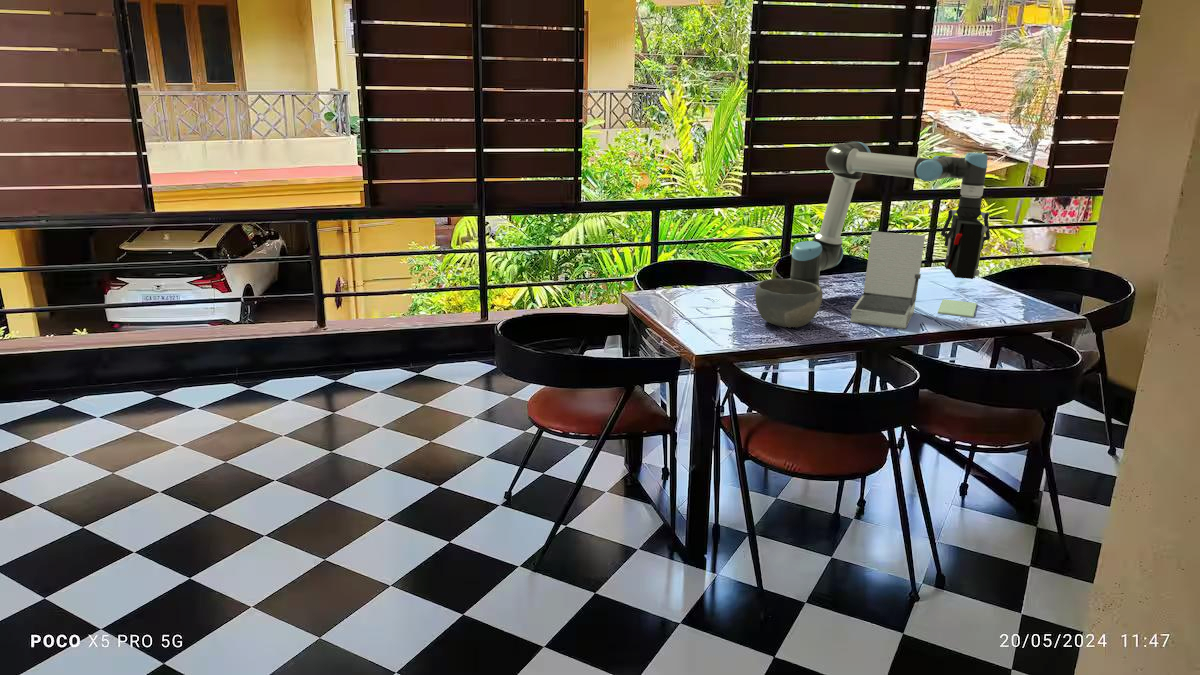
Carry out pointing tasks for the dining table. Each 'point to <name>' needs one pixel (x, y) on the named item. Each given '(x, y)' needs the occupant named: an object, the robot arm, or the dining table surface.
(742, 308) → the dining table surface
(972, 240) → the electrical component
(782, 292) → the bowl
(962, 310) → the mat
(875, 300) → the case
